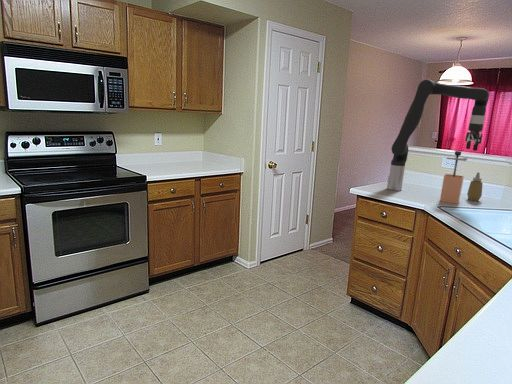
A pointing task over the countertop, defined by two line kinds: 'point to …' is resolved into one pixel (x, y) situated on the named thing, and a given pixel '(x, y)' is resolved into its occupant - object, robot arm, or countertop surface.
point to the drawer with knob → (457, 153)
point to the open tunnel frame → (451, 188)
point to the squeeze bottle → (475, 188)
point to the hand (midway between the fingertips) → (471, 149)
